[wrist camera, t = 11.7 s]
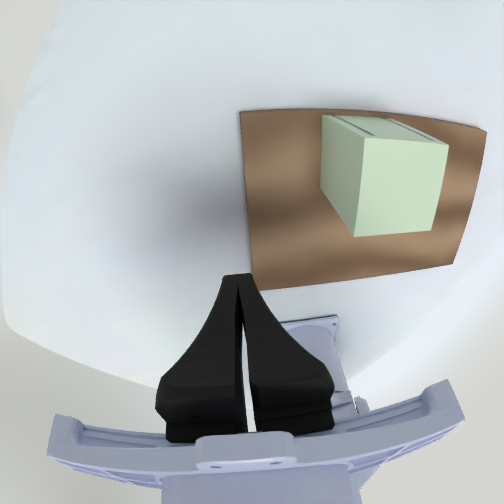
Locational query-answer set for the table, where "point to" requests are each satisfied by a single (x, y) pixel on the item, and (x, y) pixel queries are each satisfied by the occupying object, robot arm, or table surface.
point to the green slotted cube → (381, 174)
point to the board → (324, 214)
